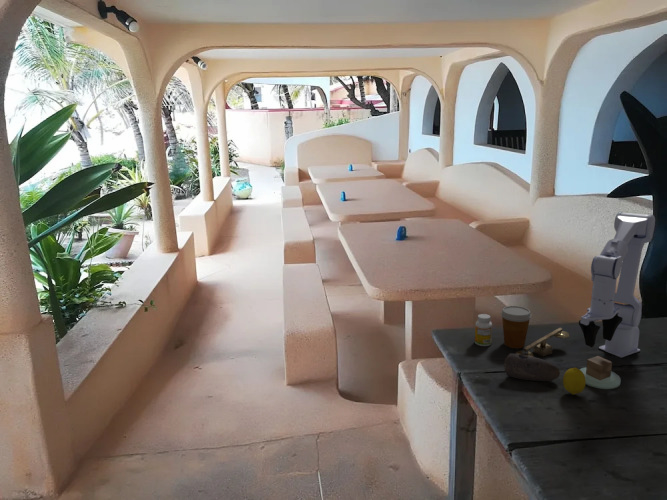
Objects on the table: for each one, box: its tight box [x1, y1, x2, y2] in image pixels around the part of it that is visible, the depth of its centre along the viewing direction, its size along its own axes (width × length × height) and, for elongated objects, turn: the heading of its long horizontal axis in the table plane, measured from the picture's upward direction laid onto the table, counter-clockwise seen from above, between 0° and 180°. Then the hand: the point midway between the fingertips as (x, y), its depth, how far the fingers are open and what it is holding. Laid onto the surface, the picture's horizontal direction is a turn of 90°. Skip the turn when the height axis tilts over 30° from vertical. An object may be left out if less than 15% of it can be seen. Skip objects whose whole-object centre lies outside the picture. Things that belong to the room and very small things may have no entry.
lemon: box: [562, 367, 586, 396], centre depth 141 cm, size 6×6×8 cm
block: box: [586, 355, 613, 380], centre depth 149 cm, size 4×4×4 cm
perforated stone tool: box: [504, 352, 561, 382], centre depth 150 cm, size 15×5×7 cm, turn 68°
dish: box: [579, 366, 622, 390], centre depth 149 cm, size 11×11×1 cm
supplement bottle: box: [474, 313, 493, 347], centre depth 174 cm, size 5×5×10 cm
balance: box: [515, 327, 570, 357], centre depth 166 cm, size 21×5×7 cm, turn 117°
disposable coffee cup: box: [500, 305, 532, 349], centre depth 172 cm, size 10×10×12 cm
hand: (598, 342), depth 149 cm, fingers open, 7 cm apart
